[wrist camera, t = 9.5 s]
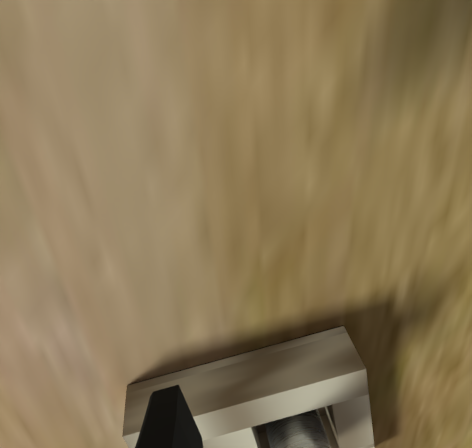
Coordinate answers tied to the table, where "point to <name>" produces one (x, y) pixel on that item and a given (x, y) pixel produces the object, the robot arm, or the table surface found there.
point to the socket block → (269, 393)
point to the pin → (298, 431)
